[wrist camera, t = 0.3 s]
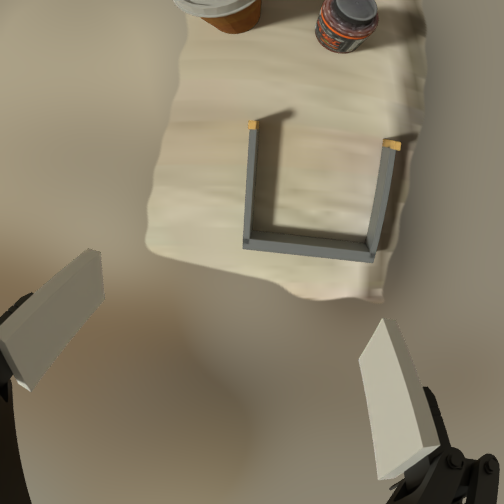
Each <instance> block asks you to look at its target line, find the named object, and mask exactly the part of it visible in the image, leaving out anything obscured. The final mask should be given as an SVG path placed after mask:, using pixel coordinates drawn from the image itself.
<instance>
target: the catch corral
mask: <svg viewBox="0 0 504 504" xmlns="http://www.w3.org/2000/svg"><path fill="white" fill-rule="evenodd" d="M259 123H260V121H250V120H249V123H248V129H250V132H249V147H248V163H247V180H246V196H245V213H244V231H243V249H247V250H256V251H266V252H275V253H284V254H293V255H303V256H312V257H321V258H330V259H339V260H348V261H358V262H367V263H373V262H374V258H375V254H376V250H377V246H378V242H379V238H380V234H381V229H382V225H383V220H384V216H385V211H386V206H387V201H388V196H389V190H390V185H391V179H392V173H393V167H394V160H395V153H396V150H399V151H400V148H401V142H397V141H392V140H387V139H383V146H382V153H381V160H380V167H379V174H378V180H377V186H376V192H375V198H374V203H373V208H372V213H371V218H370V223H369V228H368V233H367V237H366V242H365V243H358V242H350V241H341V240H333V239H324V238H316V237H307V236H298V235H289V234H279V233H270V232H260V231H252V224H253V209H254V195H255V180H256V166H257V151H258V137H259Z"/></svg>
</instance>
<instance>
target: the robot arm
mask: <svg viewBox="0 0 504 504" xmlns="http://www.w3.org/2000/svg"><path fill="white" fill-rule="evenodd" d="M104 300H105V294H104V286H103V275H102V264H101V252H99V251H96V250H92V249H89V248H88V249H87V250H86V251H84V252H83V253H82V254H80V255H79V256H78V257H77V258H76V259H74V260H73V261H72V262H71V263H69V264H68V265H67V266H66V267H64V268H63V269H62V270H61V271H60V272H58V273H57V274H56V275H55V276H54V277H52V278H51V279H50V280H49V281H48V282H47V283H45V284H44V285H43V286H42V287H41V288H40V289H39V290H37V291H36V292H35V293H32V292H31V293H29V294H27V295H25V296H23V297H21V298H20V299H19V300H18V301H17V302H16V303H15V304H14V306H11V307H10V308H9V309H8V311H6V312H5V313H4V314H3V315H2V316H1V317H0V504H32V503H31V500H30V497H29V493H28V489H27V486H26V482H25V478H24V474H23V469H22V465H21V460H20V455H19V449H18V443H17V436H16V429H15V420H14V411H13V395H12V382H11V380H10V378H11V377H12V375H14V377H15V378H16V380H17V382H18V383H19V384H20V385H21V386H23V387H24V388H26V389H27V390H29V391H30V392H32V390H33V389H34V388H35V386H36V385H37V384H38V382H39V380H40V379H41V378H42V377H43V375H44V374H45V372H46V371H47V370H48V368H49V367H50V366H51V365H52V363H53V362H54V361H55V359H56V358H57V357H58V356H59V354H60V353H61V352H62V350H63V349H64V348H65V347H66V345H67V344H68V343H69V342H70V340H71V339H72V338H73V337H74V335H75V334H76V333H77V332H78V331H79V329H80V328H81V327H82V326H83V324H84V323H85V322H86V321H87V320H88V319H89V317H90V316H91V315H92V314H93V313H94V311H95V310H96V309H97V308H98V307H99V306H100V304H101V303H102V302H103V301H104ZM359 364H360V369H361V373H362V379H363V384H364V389H365V395H366V400H367V406H368V411H369V417H370V423H371V430H372V437H373V444H374V451H375V459H376V466H377V476H378V480H383V479H392V478H395V477H397V476H399V475H400V474H402V473H403V472H404V475H405V478H404V479H402V480H401V481H399V482H398V483H396V484H394V485H393V486H391V488H390V490H392V489H394V488H396V487H397V488H396V490H395V491H394V493H393V494H392V496H391V497H390V499H389V500H388V502H387V503H386V504H462V500H463V498H465V497H467V499H466V503H465V504H496V502H497V494H498V485H499V471H500V469H499V463H498V460H497V459H496V457H495V456H494V455H492V454H485V455H483V456H482V457H481V458H479V459H478V460H473V459H467V458H465V457H464V455H463V453H462V452H461V451H460V450H459V449H457V448H454V447H451V445H450V442H449V438H448V435H447V431H446V428H445V425H444V422H443V419H442V417H441V413H440V410H439V408H438V404H437V401H436V398H435V396H434V394H433V393H432V392H431V390H430V389H429V388H428V387H422V384H421V381H420V379H419V376H418V373H417V370H416V368H415V365H414V363H413V360H412V357H411V355H410V352H409V350H408V347H407V345H406V342H405V340H404V337H403V335H402V333H401V330H400V328H399V325H398V323H397V321H396V320H393V319H387V318H382V319H381V321H380V323H379V325H378V327H377V329H376V331H375V332H374V334H373V336H372V338H371V339H370V341H369V343H368V344H367V346H366V348H365V350H364V351H363V353H362V355H361V356H360V358H359Z"/></svg>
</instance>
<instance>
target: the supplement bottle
mask: <svg viewBox="0 0 504 504" xmlns="http://www.w3.org/2000/svg"><path fill="white" fill-rule="evenodd" d="M378 21H379V17H378V13H377V5H376V2H375V0H325V1H324V2H323V5H322V7H321V10H320V14H319V17H318V20H317V23H316V26H315V34H316V37H317V39H318V41H319V42H320V44H321V45H322V46H323V47H325V48H326V49H328V50H330V51H332V52H335V53H349V52H351V51H353V50H355V49H356V48H357V47H358V46H359V45H360V44H361V43H362V42H363V41H364V40H365V39H366V38H367V37H369V36H370V35H371V34H372V33H373V32H374V30H375V29H376V27H377V25H378Z"/></svg>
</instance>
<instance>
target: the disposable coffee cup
mask: <svg viewBox="0 0 504 504" xmlns="http://www.w3.org/2000/svg"><path fill="white" fill-rule="evenodd" d="M173 2H174V3H175V5H176V6H177V7H178V8H179V9H181V10H182V11H184V12H185V13H188V14H190V15H193V16H197V17H200V18H202V19H203V20H205V21H207V22H208V23H210V24H211V25H213V26H214V27H216V28H217V29H219V30H220V31H222V32H225V33H229V34H239V33H242V32H246V31H248V30H250V29H251V28H253V27H254V26H255V25H256V23H257V22H258V20H259V18H260V11H261V0H173Z"/></svg>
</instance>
